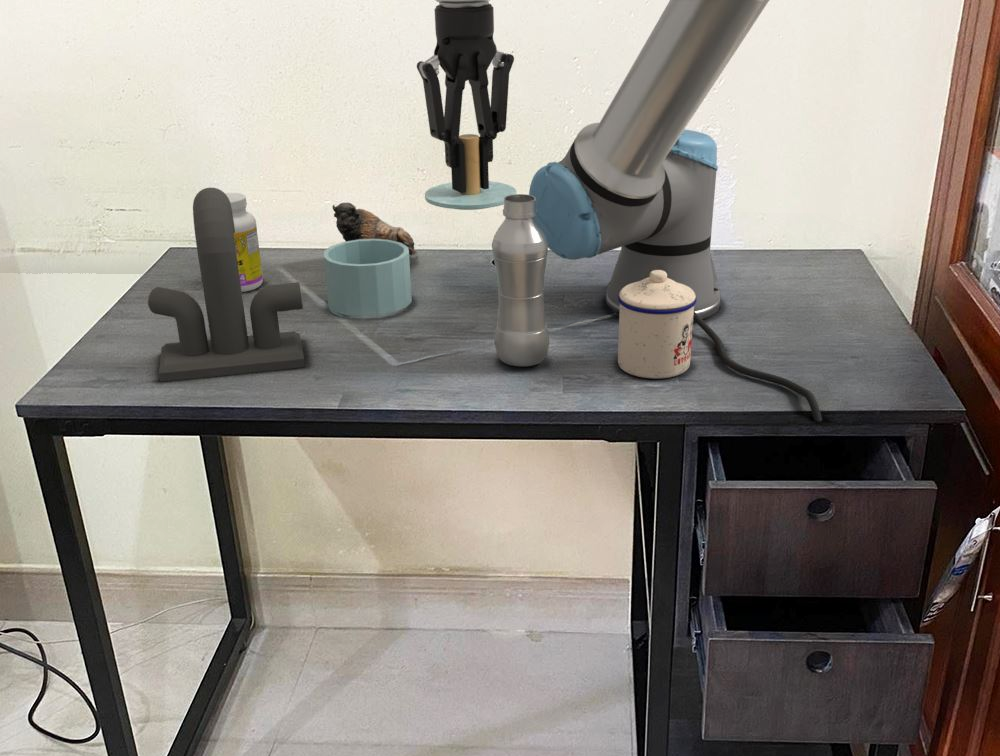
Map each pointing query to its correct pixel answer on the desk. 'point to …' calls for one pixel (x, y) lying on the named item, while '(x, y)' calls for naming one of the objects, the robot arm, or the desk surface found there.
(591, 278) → the desk surface
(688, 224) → the robot arm
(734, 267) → the desk surface
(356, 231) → the brown striped lumpy figure
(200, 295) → the desk surface
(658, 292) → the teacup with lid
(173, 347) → the faucet
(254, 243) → the supplement bottle
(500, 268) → the silver metal bottle
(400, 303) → the bowl
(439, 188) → the lid
